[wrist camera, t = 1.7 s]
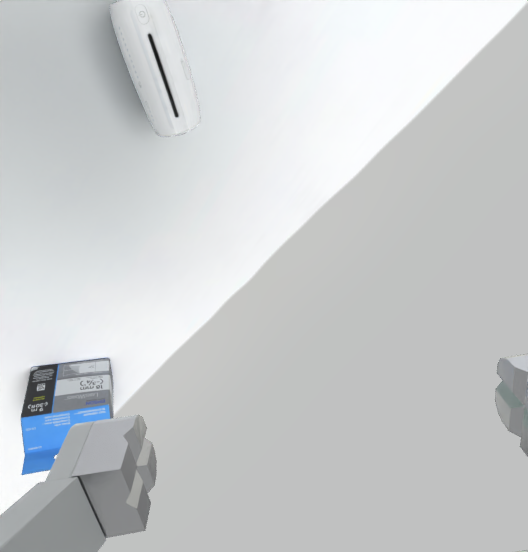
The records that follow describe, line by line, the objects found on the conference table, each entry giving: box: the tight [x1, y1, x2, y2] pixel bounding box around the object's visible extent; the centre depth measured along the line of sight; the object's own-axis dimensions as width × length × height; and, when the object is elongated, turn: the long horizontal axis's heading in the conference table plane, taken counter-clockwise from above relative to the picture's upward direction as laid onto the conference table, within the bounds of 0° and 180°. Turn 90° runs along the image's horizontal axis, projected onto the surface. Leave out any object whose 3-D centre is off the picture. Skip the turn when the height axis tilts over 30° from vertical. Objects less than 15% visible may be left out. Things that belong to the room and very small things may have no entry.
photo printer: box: [110, 0, 200, 137], centre depth 37 cm, size 10×4×12 cm, turn 14°
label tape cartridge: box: [21, 358, 113, 475], centre depth 51 cm, size 9×4×12 cm, turn 86°
